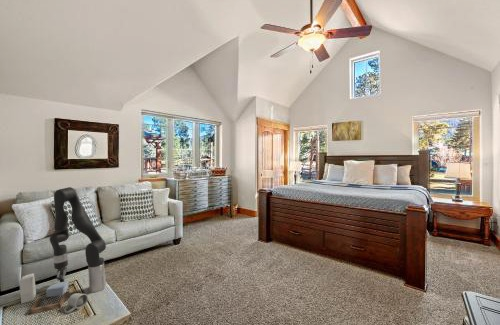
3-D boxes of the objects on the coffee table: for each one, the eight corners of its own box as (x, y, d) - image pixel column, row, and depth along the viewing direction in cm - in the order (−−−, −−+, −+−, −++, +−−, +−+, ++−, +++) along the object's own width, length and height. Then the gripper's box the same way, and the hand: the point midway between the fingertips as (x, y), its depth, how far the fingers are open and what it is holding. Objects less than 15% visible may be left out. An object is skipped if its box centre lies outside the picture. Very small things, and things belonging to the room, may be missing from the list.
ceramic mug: (78, 301, 147) (77, 289, 147) (88, 303, 145) (87, 291, 144) (60, 312, 137) (59, 300, 136) (71, 315, 135) (70, 302, 134)
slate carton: (68, 288, 162) (68, 281, 162) (63, 294, 154) (62, 287, 154) (53, 290, 159) (52, 283, 159) (46, 297, 152) (46, 290, 151)
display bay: (67, 295, 153) (67, 291, 153) (60, 307, 141) (60, 303, 141) (39, 301, 147) (38, 297, 147) (29, 314, 135) (28, 310, 135)
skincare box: (33, 300, 148) (31, 278, 147) (20, 304, 145) (18, 281, 144) (36, 294, 155) (34, 272, 154) (23, 297, 152) (22, 275, 151)
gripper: (63, 263, 158) (65, 287, 159) (70, 255, 171) (71, 278, 172) (50, 265, 156) (51, 290, 157) (57, 257, 168) (59, 280, 169)
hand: (62, 283), depth 164 cm, fingers closed
